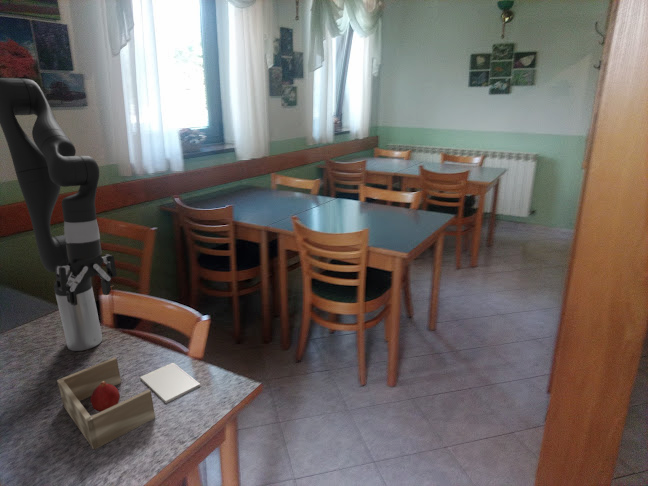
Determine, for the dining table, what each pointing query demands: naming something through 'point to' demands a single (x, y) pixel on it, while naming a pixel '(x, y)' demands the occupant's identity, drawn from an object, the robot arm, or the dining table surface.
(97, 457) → the dining table surface
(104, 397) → the onion
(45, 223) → the robot arm
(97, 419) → the open box
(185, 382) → the board
